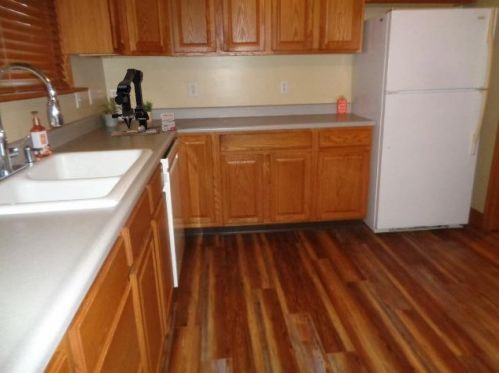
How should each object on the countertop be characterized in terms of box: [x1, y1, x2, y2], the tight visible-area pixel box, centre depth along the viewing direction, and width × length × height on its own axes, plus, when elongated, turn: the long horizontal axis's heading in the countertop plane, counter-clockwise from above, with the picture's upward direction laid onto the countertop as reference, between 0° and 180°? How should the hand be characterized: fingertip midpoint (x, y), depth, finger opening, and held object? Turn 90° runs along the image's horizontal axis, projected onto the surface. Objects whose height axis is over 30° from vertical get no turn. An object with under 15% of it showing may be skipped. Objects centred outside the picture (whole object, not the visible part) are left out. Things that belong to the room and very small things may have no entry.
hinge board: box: [110, 125, 159, 138], centre depth 243 cm, size 12×28×5 cm, turn 104°
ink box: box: [159, 112, 177, 132], centre depth 255 cm, size 8×5×12 cm, turn 114°
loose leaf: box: [126, 125, 143, 133], centre depth 243 cm, size 9×10×4 cm
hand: (129, 128), depth 242 cm, fingers closed
